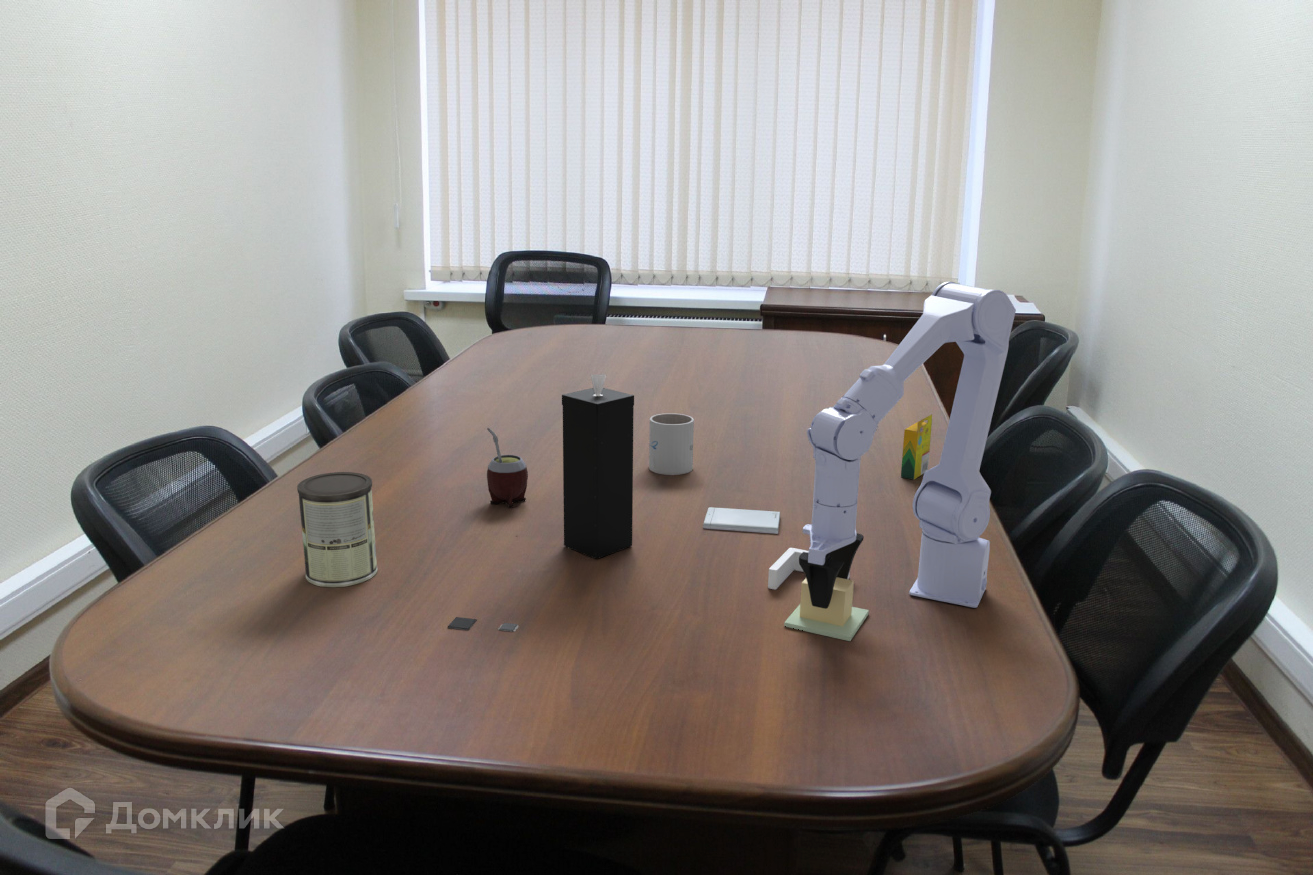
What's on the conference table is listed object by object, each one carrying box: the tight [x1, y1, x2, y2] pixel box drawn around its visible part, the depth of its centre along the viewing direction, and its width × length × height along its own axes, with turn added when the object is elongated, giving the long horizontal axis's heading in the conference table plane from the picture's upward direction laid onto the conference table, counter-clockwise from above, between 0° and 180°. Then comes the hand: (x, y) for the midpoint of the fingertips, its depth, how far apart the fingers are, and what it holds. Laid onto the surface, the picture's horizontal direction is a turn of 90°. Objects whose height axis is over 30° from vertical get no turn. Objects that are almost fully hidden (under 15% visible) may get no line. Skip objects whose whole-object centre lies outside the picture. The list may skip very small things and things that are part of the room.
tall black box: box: [561, 374, 635, 559], centre depth 159 cm, size 8×8×28 cm
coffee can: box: [296, 471, 379, 588], centre depth 149 cm, size 10×10×14 cm
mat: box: [783, 603, 870, 642], centre depth 139 cm, size 9×9×1 cm
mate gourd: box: [486, 427, 529, 509], centre depth 179 cm, size 8×8×15 cm
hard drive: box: [702, 506, 781, 535], centre depth 174 cm, size 2×8×12 cm
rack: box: [767, 547, 851, 590], centre depth 150 cm, size 9×9×3 cm
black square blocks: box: [447, 616, 520, 633], centre depth 136 cm, size 14×20×1 cm
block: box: [799, 577, 855, 626], centre depth 138 cm, size 6×4×5 cm, turn 64°
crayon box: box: [900, 414, 933, 480], centre depth 199 cm, size 7×3×12 cm, turn 144°
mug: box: [648, 412, 695, 476], centre depth 203 cm, size 12×9×10 cm
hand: (828, 595), depth 138 cm, fingers open, 7 cm apart
